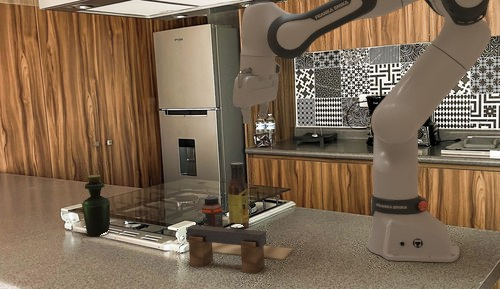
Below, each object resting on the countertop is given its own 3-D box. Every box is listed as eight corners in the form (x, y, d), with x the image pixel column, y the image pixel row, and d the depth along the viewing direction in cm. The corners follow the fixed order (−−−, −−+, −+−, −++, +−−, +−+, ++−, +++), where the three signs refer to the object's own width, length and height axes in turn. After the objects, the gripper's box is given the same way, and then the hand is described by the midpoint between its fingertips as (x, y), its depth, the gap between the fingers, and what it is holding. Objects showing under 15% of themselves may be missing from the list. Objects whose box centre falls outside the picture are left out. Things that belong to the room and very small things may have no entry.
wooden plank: (293, 250, 134) (293, 248, 134) (283, 260, 126) (283, 258, 126) (212, 242, 143) (212, 240, 143) (198, 251, 136) (198, 249, 136)
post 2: (264, 265, 123) (263, 236, 122) (255, 273, 118) (254, 243, 118) (250, 264, 125) (249, 235, 124) (241, 271, 120) (240, 242, 119)
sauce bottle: (247, 229, 154) (244, 165, 152) (227, 229, 155) (224, 165, 153) (251, 223, 160) (249, 161, 158) (232, 223, 162) (229, 161, 159)
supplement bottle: (226, 232, 152) (224, 195, 151) (218, 238, 146) (217, 200, 145) (208, 231, 154) (206, 194, 153) (199, 237, 148) (197, 199, 147)
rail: (266, 243, 121) (265, 231, 121) (261, 247, 118) (261, 235, 118) (192, 236, 129) (192, 225, 129) (186, 240, 126) (186, 228, 126)
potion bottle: (84, 239, 151) (79, 179, 148) (84, 231, 158) (79, 175, 156) (112, 235, 153) (108, 176, 151) (111, 228, 161) (107, 172, 159)
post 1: (213, 259, 129) (211, 232, 128) (202, 267, 124) (201, 238, 123) (200, 258, 130) (199, 231, 129) (190, 265, 125) (188, 237, 124)
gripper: (251, 70, 119) (248, 128, 122) (283, 66, 137) (280, 117, 140) (227, 68, 121) (225, 125, 124) (261, 65, 140) (259, 114, 143)
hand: (255, 120), depth 132 cm, fingers open, 8 cm apart
